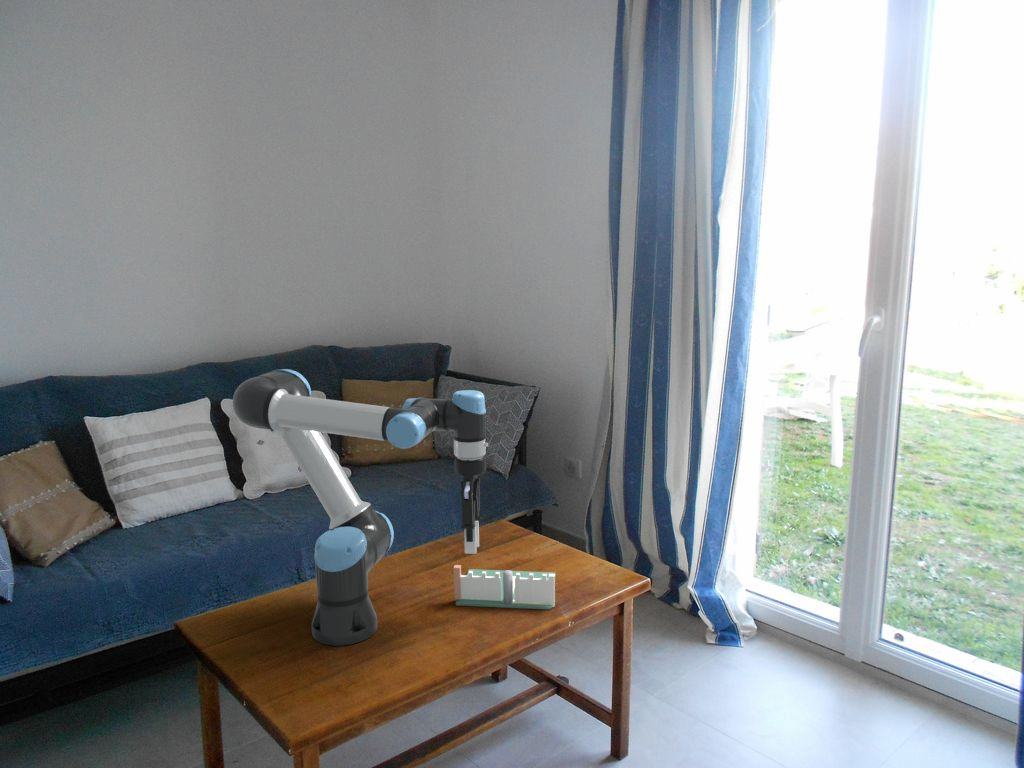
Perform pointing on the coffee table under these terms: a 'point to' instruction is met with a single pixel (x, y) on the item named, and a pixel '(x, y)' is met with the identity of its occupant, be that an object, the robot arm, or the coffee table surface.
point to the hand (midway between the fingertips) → (472, 549)
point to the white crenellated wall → (476, 586)
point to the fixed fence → (529, 588)
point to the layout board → (500, 603)
